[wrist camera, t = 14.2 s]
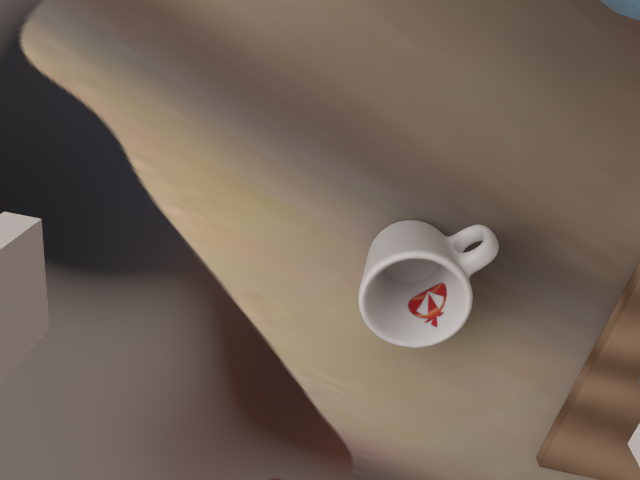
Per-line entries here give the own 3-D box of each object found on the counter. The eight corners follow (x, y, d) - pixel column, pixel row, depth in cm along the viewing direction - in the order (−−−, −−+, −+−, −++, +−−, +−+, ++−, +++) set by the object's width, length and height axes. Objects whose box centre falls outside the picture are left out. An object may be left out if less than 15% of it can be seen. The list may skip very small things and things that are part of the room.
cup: (459, 170, 42) (476, 211, 35) (506, 248, 45) (532, 301, 37) (342, 237, 46) (336, 287, 38) (392, 307, 48) (395, 365, 41)
